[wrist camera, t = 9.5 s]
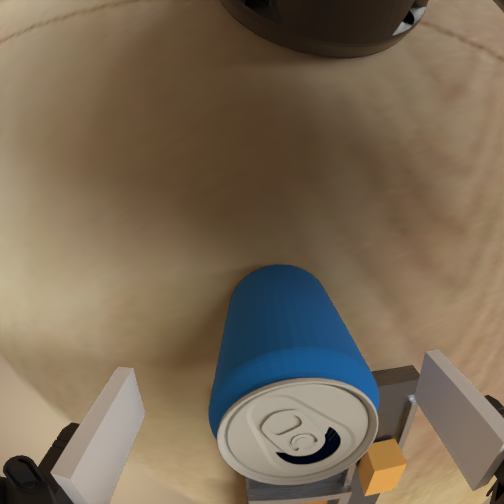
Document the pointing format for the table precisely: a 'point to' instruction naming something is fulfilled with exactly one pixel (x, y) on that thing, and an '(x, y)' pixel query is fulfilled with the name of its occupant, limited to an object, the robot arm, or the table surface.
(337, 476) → the panel
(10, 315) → the table surface
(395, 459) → the block
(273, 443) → the beverage can
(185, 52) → the table surface
